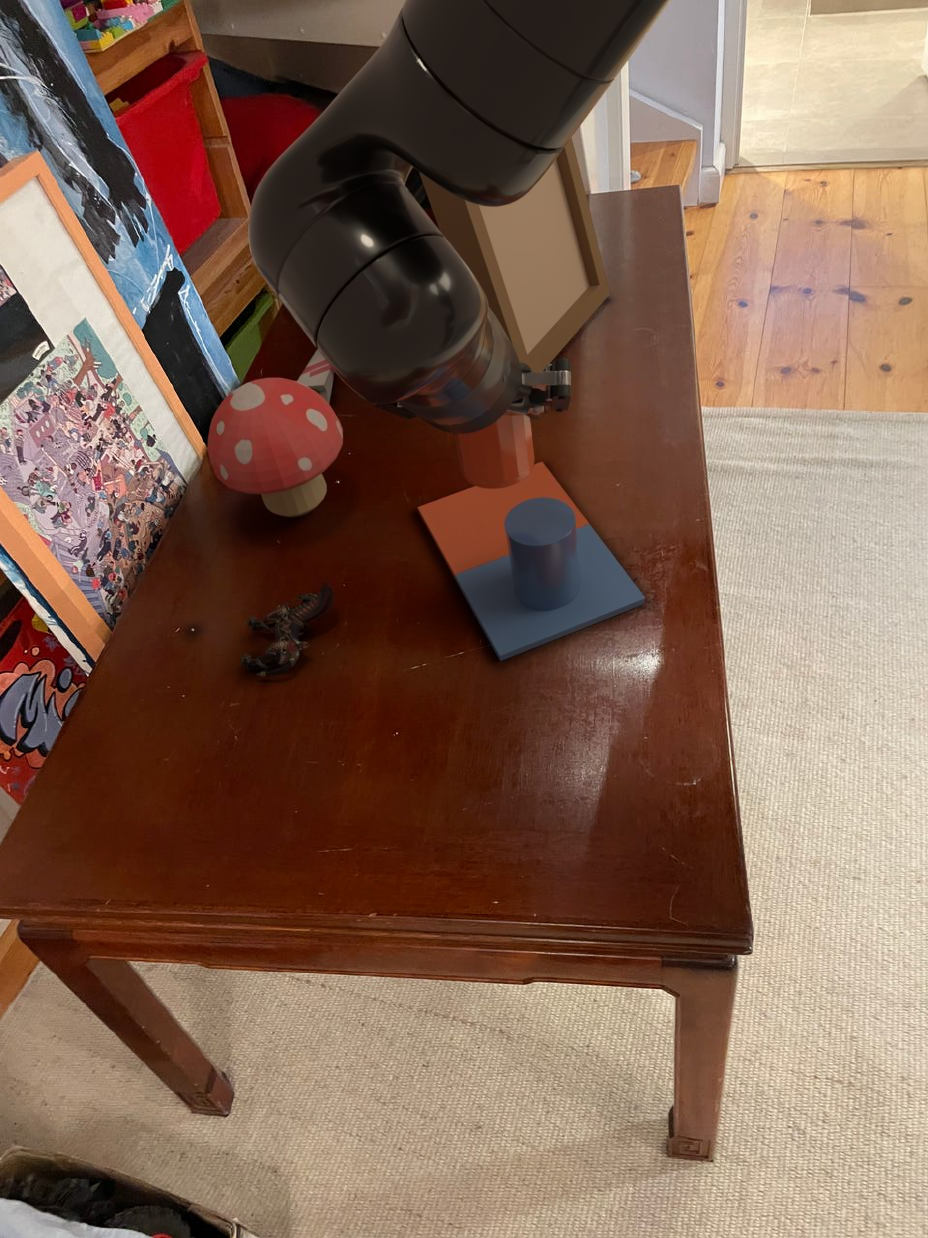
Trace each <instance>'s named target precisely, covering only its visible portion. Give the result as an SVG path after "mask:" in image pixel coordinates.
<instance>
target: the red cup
mask: <svg viewBox="0 0 928 1238" xmlns="http://www.w3.org/2000/svg"><path fill="white" fill-rule="evenodd" d="M453 437H454V441H455V442H454V443H455V446H456V452H457V456H458V458H457V459H458V463H459V467H460V470H461V471H460V472H461V474H462V477H463V478H464V479H465V480H466V482H468V483H469V484H470V485H473V486H478V487H481V488H487V489H499V488H505V487H509V486H512V485H514V484H517V483H519V482H520V481H522V480H523V479H525V478H526V477H527V476H528V475H529V474H530V473H531V471H532V470H533V467H534V464H536V459H535V448H534V439H533V428H532V420H531V418H530V417H529V416H528V415H527V414H526V415H518V416H508V415H502V417H501V418H499V419H498V420H497V421H496V422H495V423H493V424H492V425H490V426H488V427H487V428H484V429H482V430H479V431H476V432H473V433H466V434H455V433H453Z"/></svg>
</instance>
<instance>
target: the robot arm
mask: <svg viewBox="0 0 928 1238" xmlns="http://www.w3.org/2000/svg"><path fill="white" fill-rule="evenodd" d="M670 2H671V0H405V1H404V3H403V5H402V8H401V9H400V10H399V13H398V15H397V17H396V19H395V21H394V23H393V25H392V26H391V29H390V30H389V33H388V35H387V37H386V38H385V40H384V41H382V44H381V45H380V46H379V47H378V49H377V50H376V51H375V52H374V54H373V55H372V56H371V57H370V59H368V60H367V62H366V63H365V64H364V65H363V66H362V67H361V69H359V71H358V72H357V73H356V74H355V75H354V76H353V78H351V80H349V82H348V83H347V84H346V85H345V86H344V87H343V89H341V91H340V92H339V93H338V94H337V95H336V96H335V98H334V99H333V100H332V101H331V102H330V104H329V105H328V106H327V107H326V108H325V110H324V111H322V112H321V114H319V115H318V117H317V118H316V119H315V120H314V121H313V122H312V123H311V124H310V125H309V126H308V127H307V128H306V130H304V131H303V133H301V134H300V135H299V136H298V137H297V139H295V140H294V141H293V142H292V143H291V144H290V145H289V146H288V147H287V148H286V149H285V150H284V151H283V152H282V153H281V154H280V155H279V156H278V158H276V160H275V161H274V162H273V163H272V164H271V166H270V167H268V169H267V170H266V172H265V173H264V175H263V177H262V178H261V179H260V181H259V183H258V185H257V187H256V189H255V191H254V194H253V197H252V200H251V205H250V209H249V215H248V226H247V227H248V228H247V229H248V230H247V231H248V233H247V234H248V237H247V238H248V239H247V240H248V245H249V246H248V247H249V252H250V255H251V259H252V261H253V263H254V265H255V268H256V270H257V271H258V273H259V274H260V276H261V278H262V279H263V280H264V281H265V283H266V285H268V287H269V288H270V289H271V291H272V292H273V293H274V295H275V296H276V297H277V299H278V300H279V302H281V303H282V305H283V306H284V307H285V309H286V310H287V311H288V313H289V314H290V315H291V316H292V318H293V319H294V321H295V322H296V323H297V325H298V326H299V327H300V328H301V330H302V331H303V332H304V334H305V335H306V336H307V338H309V340H310V341H311V343H312V344H313V345H314V348H316V350H317V349H318V350H319V352H320V353H321V354H322V356H323V357H324V358H325V360H326V361H327V362H328V363H329V365H330V366H331V367H332V369H333V370H334V371H335V373H336V375H337V376H338V377H339V378H340V379H341V381H343V382H344V383H345V385H347V387H349V388H350V389H351V390H352V391H353V392H354V393H355V394H357V395H358V396H359V397H360V398H362V399H364V401H366V402H368V403H371V404H374V405H373V406H374V407H376V408H378V409H380V410H383V411H386V412H388V413H391V414H393V415H396V416H398V417H401V418H404V419H406V420H412V419H413V418H417V417H418V418H420V419H421V420H423V421H425V423H427V424H428V425H430V426H432V427H434V428H435V429H438V430H440V431H443V432H446V433H449V434H454V433H455V434H466V433H473V432H476V431H479V430H482V429H484V428H487V427H488V426H490V425H492V424H493V423H495V422H496V421H497V420H498V419H499V418H501V417H502V415H508V416H518V415H526V414H527V415H528V416H529V417H530V418H531V421H533V420H534V421H535V420H541V418H542V414H543V415H544V414H548V413H549V406H550V411H552V412H555V413H563V412H564V411H568V409H569V406H570V404H571V403H570V402H571V399H572V360H571V359H568V358H566V357H558V358H557V359H553V360H552V362H551V363H550V364H547V365H546V368H545V370H543V371H542V372H532V370H531V368H530V366H529V365H527V364H526V363H523V362H519V359H518V356H517V353H516V351H515V349H514V346H513V345H512V343H511V341H510V339H509V338H508V336H507V334H506V333H505V331H504V329H503V328H502V326H501V324H500V323H499V321H498V319H497V318H496V316H495V314H494V313H493V312H492V310H491V309H490V308H489V307H488V300H487V297H486V295H485V293H484V291H483V289H482V287H481V286H480V284H479V282H478V281H477V279H476V278H475V276H474V274H473V273H472V272H471V270H470V269H469V267H468V266H467V265H466V263H465V262H464V260H463V259H462V258H461V257H460V255H459V254H458V253H457V251H456V250H455V249H454V248H453V246H452V245H451V244H450V242H449V241H448V240H447V239H446V238H445V237H444V235H443V234H442V233H441V232H440V229H439V227H438V225H436V224H435V223H434V221H433V220H432V219H431V217H430V216H429V215H428V214H427V212H426V211H425V210H424V208H423V207H422V206H421V204H420V203H419V202H418V201H417V200H416V198H415V197H414V195H413V194H412V193H411V192H410V191H409V189H408V188H407V186H406V182H407V180H408V177H409V174H410V173H411V171H412V170H413V169H415V171H418V172H419V173H420V172H421V173H422V174H423V175H425V176H426V177H427V178H429V179H430V180H432V181H433V182H434V183H436V184H437V185H439V186H440V187H442V188H443V189H445V190H447V191H448V192H450V193H452V194H454V195H456V196H458V197H459V198H461V199H464V200H466V201H468V202H471V203H474V204H478V205H482V206H488V207H500V206H505V205H509V204H511V203H514V202H516V201H517V200H519V199H521V198H522V197H523V196H525V195H526V194H527V193H528V192H529V191H530V190H531V189H532V188H533V187H534V186H535V185H536V184H537V182H538V181H539V180H540V179H541V178H542V177H543V175H544V174H545V173H546V171H547V170H548V169H549V168H550V166H551V165H552V164H553V162H554V161H555V160H556V158H557V157H558V155H559V154H560V153H561V151H562V150H563V148H564V146H565V145H566V144H567V143H568V142H569V140H570V139H571V138H572V139H573V136H574V135H575V134H576V133H577V131H578V130H579V128H580V127H581V126H582V125H583V123H584V122H585V120H586V119H587V117H588V116H589V114H590V113H591V112H592V111H593V110H594V108H595V107H596V105H597V104H598V102H599V101H600V100H601V98H602V97H603V95H604V94H605V93H606V92H607V90H608V89H609V87H610V86H611V85H612V83H613V82H614V81H615V79H616V77H617V76H618V75H619V73H621V71H622V69H623V68H624V67H625V65H626V64H627V63H628V61H629V60H630V58H631V57H632V56H633V54H634V53H635V52H636V50H637V49H638V47H639V46H640V44H641V43H642V42H643V40H644V39H645V37H646V36H647V34H649V32H650V30H651V29H652V28H653V26H654V25H655V23H656V22H657V21H658V19H659V18H660V16H661V15H662V13H664V11H665V9H666V8H667V6H668V5H669V3H670Z"/></svg>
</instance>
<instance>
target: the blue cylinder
mask: <svg viewBox="0 0 928 1238" xmlns="http://www.w3.org/2000/svg"><path fill="white" fill-rule="evenodd" d="M504 527H505V534H506V540H507V547H508V553H509V560H510V566H511V573H512V579H513V586H514V592H515V595H516V597H517V598H518V600H519V601H520V602H521V603H522V604H524V605H525V606H527V607H529V608H532V609H536V610H554V609H558V608H561V607H563V606H565V605H567V604H568V603H570V602H571V601H572V600H573V599H574V598H575V597H576V596H577V594H578V592H579V589H580V573H579V559H578V545H577V531H576V518H575V514H574V511H573V510H572V509H571V507H570V506H569V505H567V504H566V503H564V502H562V501H560V500H557V499H554V498H545V497H542V498H533V499H529V500H526V501H524V502H521V503H519V504H518V505H516V506H515V507H514V508H512V509H511V510H510V511H509V513H508V514H507V516H506V518H505V522H504Z"/></svg>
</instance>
